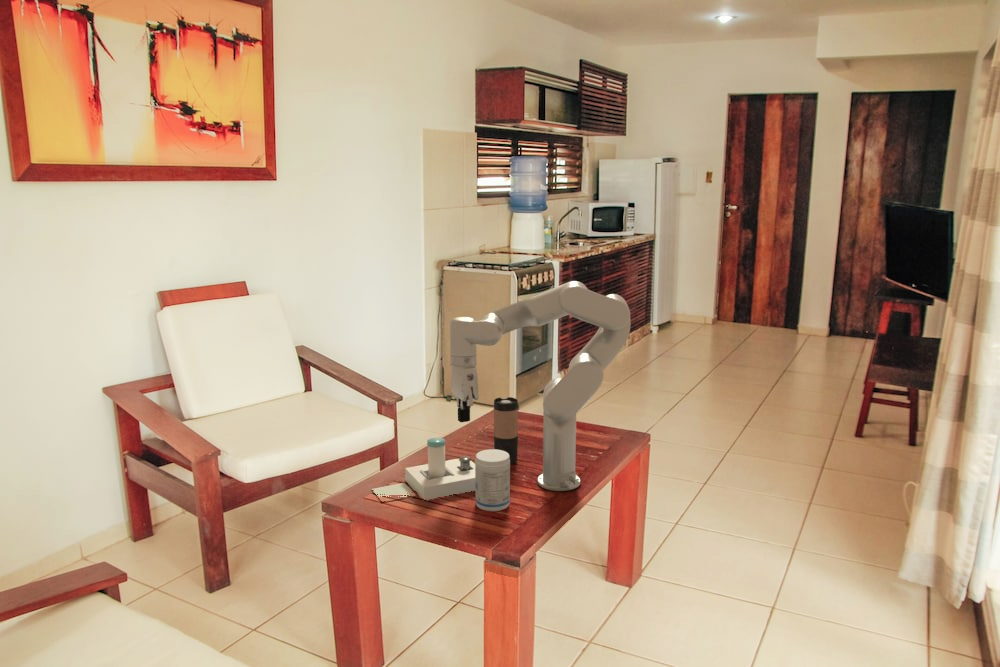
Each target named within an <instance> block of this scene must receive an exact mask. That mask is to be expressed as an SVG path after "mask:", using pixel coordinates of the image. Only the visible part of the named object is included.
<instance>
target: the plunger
mask: <svg viewBox="0 0 1000 667" xmlns="http://www.w3.org/2000/svg"><path fill="white" fill-rule="evenodd" d="M459 461H460V470H461V471H467V470H470V461H472V457H470V456H467V455H463V456H460V457H459Z"/></svg>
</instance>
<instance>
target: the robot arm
mask: <svg viewBox="0 0 1000 667" xmlns="http://www.w3.org/2000/svg"><path fill="white" fill-rule="evenodd" d="M567 316H570V317H572V318H574V319H577V320H580V321H582V322H585V323H588V324H591V325H594V326H596V327H598V330H597V331H596V332H595V333H594V335H593V336H592V337H591V339H590V340H589V341H588V342H587V343H586V344H585V345H584V346H583V347H582V349H580V351H579V352H578V353H577V354H576V355H575V356H574V357H573V358H572V359H571V360H570V362H569V364H568V371H567V372H566V373H565V374H564V376H563V377H555V378H553V379H550V380H549V382H547V383H546V385H545V387H544V389H543V392H542V393H543V394H542V395H543V396H542V408H543V411H542V412H543V421H542V422H543V424H542V426H543V427H542V428H543V430H542V436H543V437H542V444H543V445H542V474H540V475H538V477H537V484H538V485H539V486H540V487H541V488H543V489H546V490H547V491H553V492H566V491H572V490H575V489H577V488H579V487H580V485H581V478H580V477H579V476H578V475H577V472H576V452H577V450H576V449H577V448H576V445H577V444H576V443H577V440H576V439H577V437H576V436H577V413H578V412H579V411H580V410H581V409H582V408H583V407H584V405H585V404H586V403H587V402H588V401H589V400H590V399H591V398H592V397H593V396H594V395H595V394H596V392H597V391H598V390H599V389H600V387H601V386H602V384H603V381H604V377H605V376H604V371H605V370H606V368H608V366H609V365H610V364H611V363H612V362H613V360H614V359H615V358H616V356H618V354H619V353H620V352H621V351H622V350H623V348H624V346H625V345H626V343H627V341H628V340H629V339H628V338H629V335H630V332H631V310H630V307H629V305H628V303H627V301H626V300H625V299H624V297H623V296H621V295H619V294H616V293H610V294H607V295H603V294H600V293H598V292H595V291H592V290H591V289H588V287H587V286H586V285H585V284H584V283H583V282H582V281H581V282H580V281H577V280H570V281H568V282H565V283H563V284H561V285H558V286H556V287H554V288H551V289H549V290H545V291H544V292H542V293H538V294H536V295H534V296H531V297H528V298H525V299H523V300H520V301H518V302H515V303H512V304H509V305H506V306H504V307H501V308H499V309H497V310H494V311H491V312H489V313H487V314H486V315H484V316H482V318H481V319H480V320H475V318H473V317H469V316H457V317H453V318H452V319H451V320H450V322H449V341H450V343H449V345H450V346H449V347H450V348H449V349H450V350H449V352H450V353H449V354H450V357H449V358H450V366H451V373H450V374H451V377H450V385H451V387H450V389H451V390H450V391H451V393H452V395H453V396H454V397H455V399H456V406H457V421H458V422H460V423H466V422H467V423H468V422H471V407H472V406H474V400H476V401H478V399H479V378H478V371H477V345H479V346H485V347H486V346H487V347H492V346H495V345H497V344H498V343H499V342H500V341H501V339H502V336H503V335H506V334H508V333H511V332H513V331H515V330H519V329H522V328H525V327H540V326H544V325H547V324H549V323H551V322H554V321H556V320H558V319H562V318H564V317H567Z"/></svg>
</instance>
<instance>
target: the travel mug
mask: <svg viewBox="0 0 1000 667" xmlns="http://www.w3.org/2000/svg"><path fill="white" fill-rule="evenodd" d="M518 404H519V401H518V399H517V398H515V397H509V396H508V397H506V398H502V397H496V398H495V399H494V400H493V448H494V449H497V450H502V451H505V452H507V453H508V454H509V457H510V465H514V464H515V462H516V463H517V461H518V448H519V445H518V443H519V412H518V411H519V405H518Z"/></svg>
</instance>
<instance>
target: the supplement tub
mask: <svg viewBox="0 0 1000 667" xmlns="http://www.w3.org/2000/svg"><path fill="white" fill-rule="evenodd" d="M474 463H475V491H474V493H475V505H476V507H478V509H480V510H482V511H486V512H500V511H502V510H505V509H507V508H508V507H509V505H510V503H511V464H510V457H509V454H508V453H507V452H505V451H502V450H497V449H493V448H492V449H483V450H481V451H478V452H477V453H476V454H475V459H474Z"/></svg>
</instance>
